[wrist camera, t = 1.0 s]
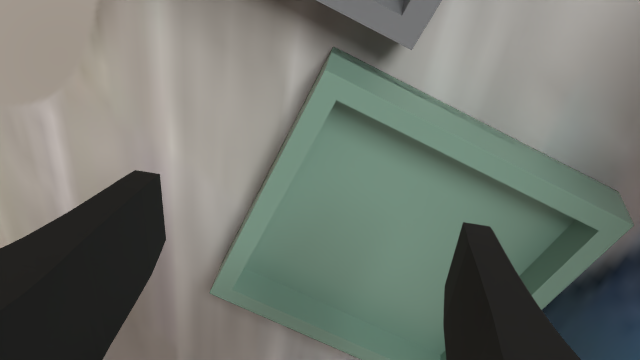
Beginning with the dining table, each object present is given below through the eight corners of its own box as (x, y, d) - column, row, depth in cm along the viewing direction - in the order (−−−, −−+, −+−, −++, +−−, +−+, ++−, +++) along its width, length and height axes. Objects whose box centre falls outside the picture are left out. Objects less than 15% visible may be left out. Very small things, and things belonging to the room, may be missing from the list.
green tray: (618, 192, 22) (633, 225, 20) (445, 361, 29) (446, 396, 27) (333, 46, 20) (324, 69, 19) (222, 262, 27) (209, 293, 26)
